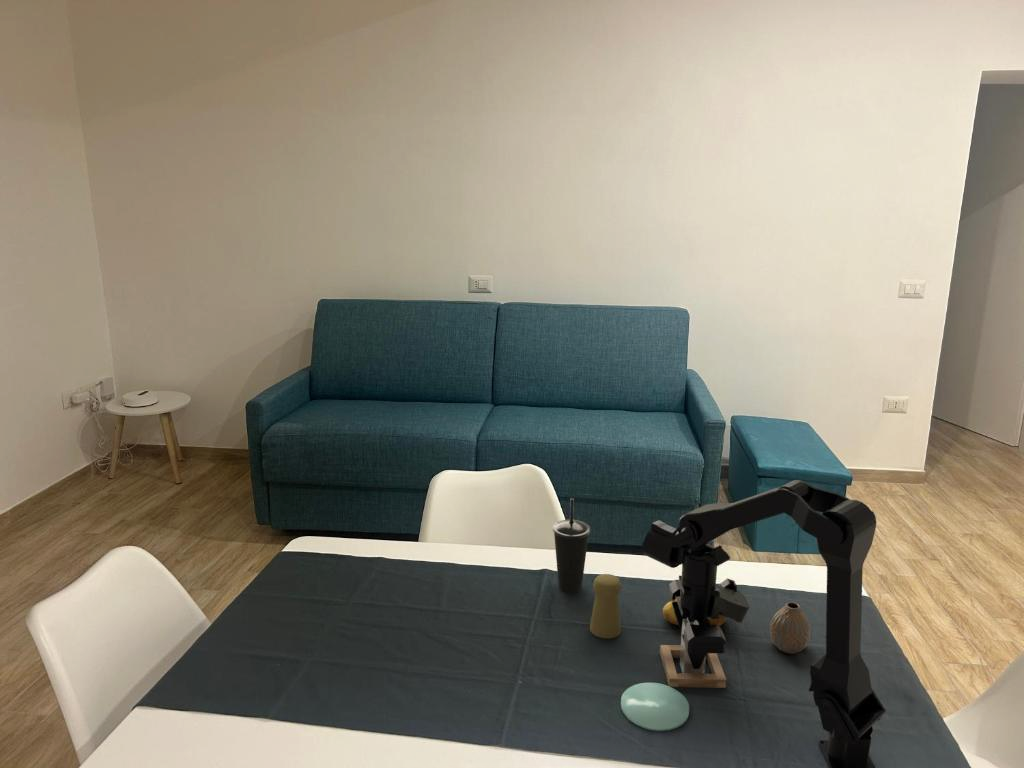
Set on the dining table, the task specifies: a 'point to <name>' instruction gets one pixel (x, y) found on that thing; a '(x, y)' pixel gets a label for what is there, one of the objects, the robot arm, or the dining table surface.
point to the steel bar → (684, 657)
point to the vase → (790, 629)
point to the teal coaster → (655, 706)
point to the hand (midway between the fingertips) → (692, 657)
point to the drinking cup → (570, 552)
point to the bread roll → (671, 617)
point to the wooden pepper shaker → (606, 607)
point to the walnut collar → (691, 680)
